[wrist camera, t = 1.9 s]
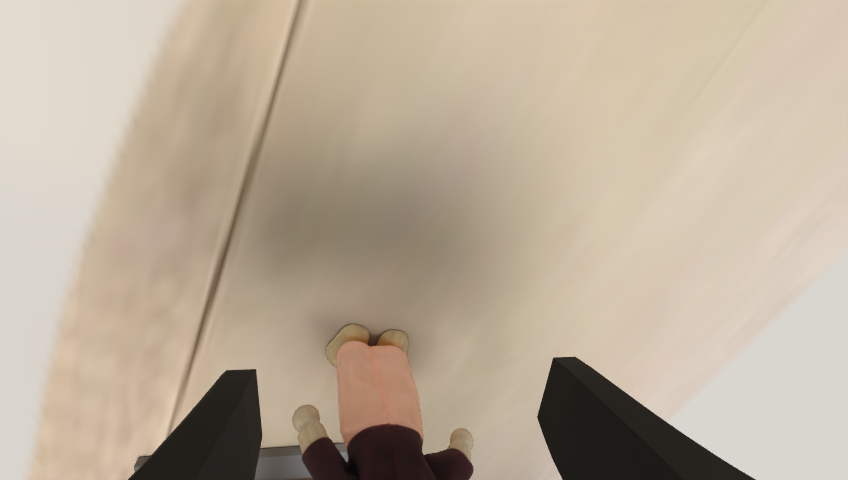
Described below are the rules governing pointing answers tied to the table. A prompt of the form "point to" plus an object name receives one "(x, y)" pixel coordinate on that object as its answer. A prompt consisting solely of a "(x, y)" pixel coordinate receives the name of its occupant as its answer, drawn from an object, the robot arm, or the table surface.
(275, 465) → the wooden tray
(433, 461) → the grandmother figurine
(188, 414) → the robot arm
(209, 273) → the table surface
